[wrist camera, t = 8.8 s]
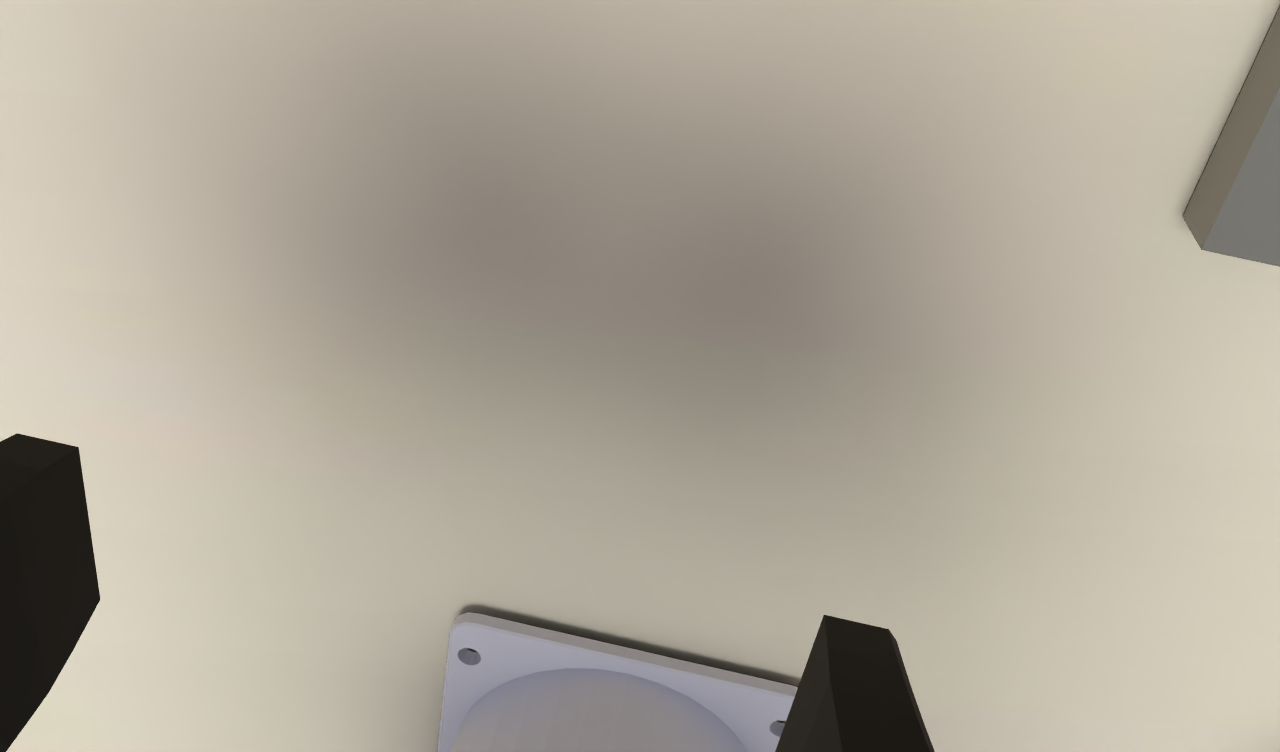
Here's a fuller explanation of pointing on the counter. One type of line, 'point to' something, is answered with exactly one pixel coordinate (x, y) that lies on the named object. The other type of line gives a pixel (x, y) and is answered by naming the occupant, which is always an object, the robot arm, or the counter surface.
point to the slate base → (1245, 170)
